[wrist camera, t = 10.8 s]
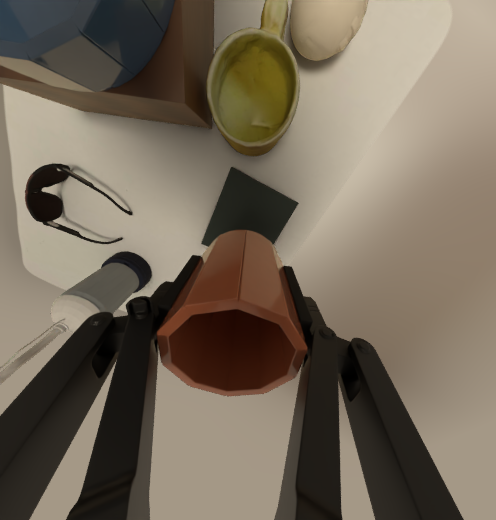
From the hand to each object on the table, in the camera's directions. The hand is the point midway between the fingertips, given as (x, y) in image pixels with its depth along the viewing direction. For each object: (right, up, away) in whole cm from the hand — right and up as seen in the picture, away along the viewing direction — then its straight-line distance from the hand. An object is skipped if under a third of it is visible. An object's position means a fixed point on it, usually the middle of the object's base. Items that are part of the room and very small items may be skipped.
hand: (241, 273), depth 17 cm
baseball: (+9, +28, +4) cm, 29 cm away
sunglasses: (-26, +10, +14) cm, 31 cm away
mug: (+2, +22, +7) cm, 23 cm away
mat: (0, +8, +15) cm, 16 cm away
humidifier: (-23, -1, +20) cm, 31 cm away
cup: (0, +1, +2) cm, 2 cm away
